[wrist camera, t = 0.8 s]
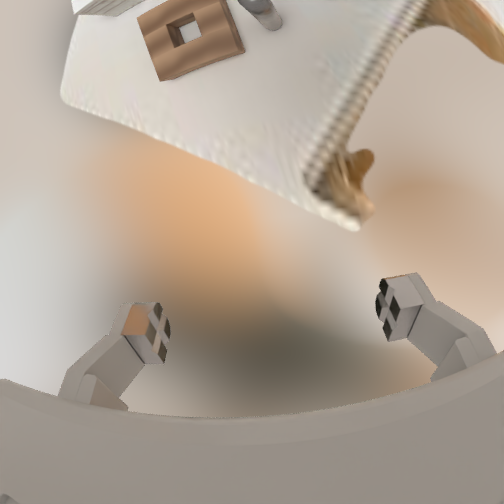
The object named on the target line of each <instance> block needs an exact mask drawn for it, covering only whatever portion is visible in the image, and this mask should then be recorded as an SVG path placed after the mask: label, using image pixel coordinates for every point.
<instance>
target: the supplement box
mask: <svg viewBox="0 0 504 504" xmlns="http://www.w3.org/2000/svg"><path fill="white" fill-rule="evenodd" d="M143 1H144V0H71V2H72V7H73V11H74V15H105V16H118V15H119V14H121V13H123V12H125V11H126V10H128V9H130V8H132V7H133V6H135V5H137V4H139V3H141V2H143Z"/></svg>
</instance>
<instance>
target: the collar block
mask: <svg viewBox="0 0 504 504" xmlns="http://www.w3.org/2000/svg"><path fill="white" fill-rule="evenodd" d="M137 20H138V23H139V26H140V29H141V32H142V34H143V37H144V40H145V43H146V45H147V48H148V51H149V54H150V56H151V59H152V62H153V64H154V67H155V70H156V72H157V75H158V78H159V80H160V82H161V81H166V80H173V79H175V78H177V77H180V76H182V75H184V74H187V73H189V72H191V71H194V70H196V69H199V68H201V67H204V66H206V65H209V64H212V63H215V62H217V61H220V60H223V59H226V58H229V57H232V56H235V55H238V54H241V53H245V50H244V47H243V44H242V42H241V39H240V36H239V34H238V31H237V28H236V26H235V23H234V20H233V18H232V15H231V13H230V10H229V8H228V5H227V3H226V0H168V1H166V2H164V3H162V4H160V5H158V6H157V7H155V8H153V9H151V10H149V11H148V12H146V13H144V14H142V15H141V16H139V17H137ZM195 20H196V21H197V24H198V27H199V29H200V32H201V35H202V37H199V38H197V39H194V40H192V41H190V42H188V43H184V40H183V38H182V35H181V32H180V30H179V27H181V26H183V25H186V24H188V23H190V22H192V21H195Z"/></svg>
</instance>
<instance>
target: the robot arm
mask: <svg viewBox="0 0 504 504" xmlns="http://www.w3.org/2000/svg"><path fill="white" fill-rule="evenodd" d="M379 288H380V290H381V292H379V294H378V295H377V297H376V301H375V304H376V313H377V316H378V318H379V320H381V321H382V322H384V325H383V331H384V333H385V336H386V338H387V341H388V342H390V341H395V340H400V339H404V338H407V339H408V340H409V341H410V342H411V343H412V344H413V345H415V346H416V347H417V348H418V349H419V350H420V351H421V352H422V353H424V354H425V355H426V356H427V357H428V358H429V359H430V360H431V361H432V362H433V363H435V364H436V365H437V366H438V368H437V369H436V371H435V372H434V373H433V375H432V376H431V383H427V384H425V385H422V386H419V387H416V388H412V389H409V390H406V391H403V392H399V393H396V394H392V395H388V396H385V397H381V398H377V399H373V400H369V401H364V402H360V403H355V404H350V405H345V406H340V407H335V408H329V409H323V410H316V411H309V412H303V413H294V414H284V415H273V416H259V417H235V418H203V417H179V416H166V415H154V414H145V413H137V412H130V411H128V406H127V405H126V404H125V403H124V402H123V401H122V400H120V399H119V397H120V396H121V394H122V393H123V392H124V391H125V389H126V388H127V387H128V386H129V384H130V383H131V382H132V381H133V379H134V378H135V377H136V376H137V374H138V373H139V372H140V371H141V369H142V368H143V367H144V366H145V365H144V364H164V363H165V358H166V354H167V349H166V347H165V344H166V343H167V342H168V341H169V340H170V335H171V330H170V323H169V320H168V318H167V317H166V316H165V315H163V314H162V311H163V308H162V306H161V304H160V303H158V302H146V303H123V304H122V305H121V306H120V309H119V311H118V314H117V316H116V318H115V321H114V323H113V326H112V328H111V331H110V334H109V335H105V336H104V337H103V338H102V339H101V340H100V341H99V342H97V343H96V344H95V345H94V346H93V347H92V348H91V349H90V350H89V351H87V352H86V353H85V354H84V355H83V356H82V357H81V358H80V359H79V360H77V362H75V363H74V364H73V365H72V366H71V367H70V368H69V369H68V370H67V372H66V375H65V377H64V380H63V383H62V385H61V388H60V391H59V394H58V396H54V395H51V394H47V393H44V392H41V391H38V390H35V389H32V388H29V387H26V386H23V385H20V384H17V383H15V382H12V381H10V380H7V379H0V504H504V350H503V351H501V352H500V353H498V354H497V353H496V351H495V349H494V347H493V345H492V343H491V342H490V340H489V338H488V336H487V334H486V332H485V331H484V329H483V328H481V327H480V326H478V325H477V324H475V323H474V322H472V321H471V320H469V319H467V318H466V317H464V316H463V315H461V314H460V313H458V312H456V311H455V310H453V309H451V308H450V307H448V306H447V305H445V304H444V303H442V302H440V301H437V302H436V300H435V298H434V297H433V295H432V294H431V292H430V290H429V289H428V287H427V286H426V284H425V283H424V281H423V280H422V278H421V277H420V275H419V274H418V273H411V274H406V275H400V276H394V277H388V278H383V279H381V281H380V284H379Z"/></svg>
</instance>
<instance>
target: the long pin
mask: <svg viewBox="0 0 504 504" xmlns="http://www.w3.org/2000/svg"><path fill="white" fill-rule="evenodd" d="M238 2H239V3H240V4H241V5H242V6H243V7H244V8H245V9H246V10H248V11H249V12H250V13H251V14H252V15H253V16H254V17H255V18H256V19H257V20H258V21H259V22H260V23H261V24H263V25H264V26H265V27H266V28H267V29H268V30H272V31H275V30H278V29H279V28H281V26H282V20H281V18H280V16H279V15H278V13H277V11H276V9H275V7H274V6H273V4H272V2H271V1H270V0H238Z"/></svg>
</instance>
